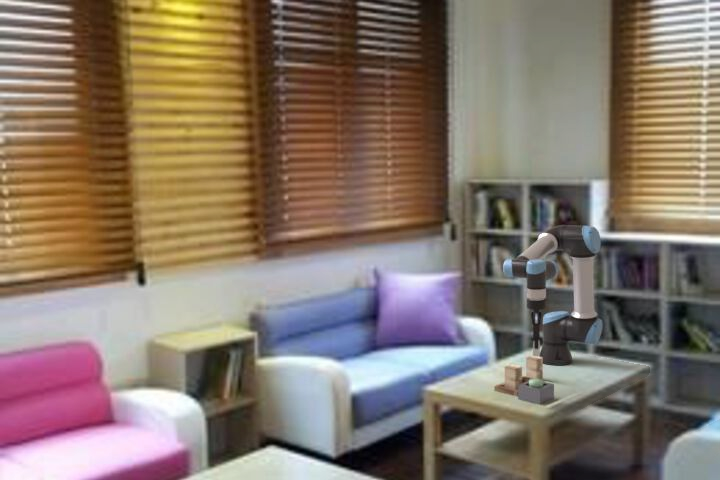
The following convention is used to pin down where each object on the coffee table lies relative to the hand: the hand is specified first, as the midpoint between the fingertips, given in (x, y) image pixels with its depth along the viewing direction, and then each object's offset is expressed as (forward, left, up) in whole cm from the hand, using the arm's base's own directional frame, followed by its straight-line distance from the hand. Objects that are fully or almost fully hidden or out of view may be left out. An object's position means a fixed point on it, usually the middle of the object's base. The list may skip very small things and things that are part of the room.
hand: (536, 355), depth 335 cm
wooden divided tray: (+1, -7, -16) cm, 17 cm away
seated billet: (+6, -7, -15) cm, 17 cm away
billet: (-16, -11, -16) cm, 25 cm away
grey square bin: (+9, +6, -16) cm, 19 cm away
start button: (+9, +6, -10) cm, 15 cm away
